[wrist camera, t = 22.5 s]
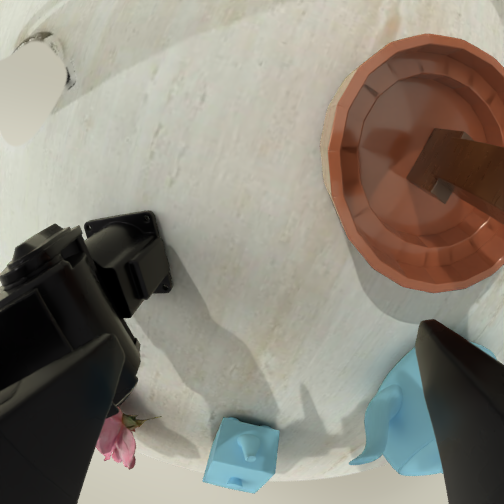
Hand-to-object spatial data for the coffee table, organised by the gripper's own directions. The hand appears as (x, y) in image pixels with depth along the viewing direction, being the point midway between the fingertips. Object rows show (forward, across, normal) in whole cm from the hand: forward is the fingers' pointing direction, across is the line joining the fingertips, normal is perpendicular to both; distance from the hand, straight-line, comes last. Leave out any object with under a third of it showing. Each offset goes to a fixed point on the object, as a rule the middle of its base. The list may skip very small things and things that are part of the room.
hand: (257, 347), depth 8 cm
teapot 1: (+13, +6, +24) cm, 28 cm away
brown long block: (+12, -10, -3) cm, 16 cm away
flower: (+13, +22, +21) cm, 33 cm away
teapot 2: (+13, -12, +17) cm, 25 cm away
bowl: (+13, -10, -3) cm, 17 cm away
